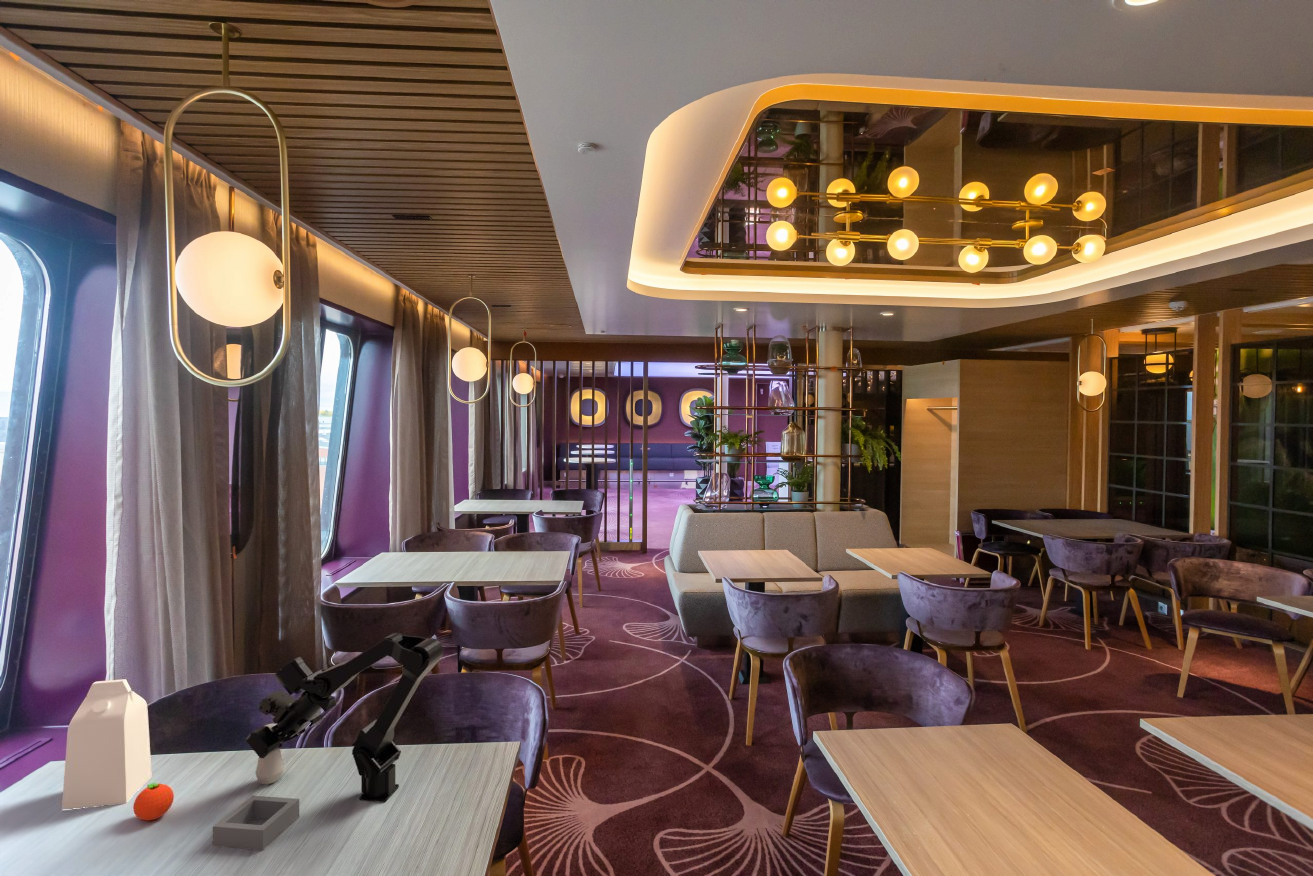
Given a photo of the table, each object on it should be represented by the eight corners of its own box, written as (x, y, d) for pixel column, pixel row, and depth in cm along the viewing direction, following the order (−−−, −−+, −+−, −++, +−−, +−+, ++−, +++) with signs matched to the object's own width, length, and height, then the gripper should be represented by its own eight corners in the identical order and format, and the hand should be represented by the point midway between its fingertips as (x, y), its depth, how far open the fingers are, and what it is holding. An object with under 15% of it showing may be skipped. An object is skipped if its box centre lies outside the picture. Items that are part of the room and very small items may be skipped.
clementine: (127, 817, 137) (127, 785, 137) (166, 802, 143) (166, 771, 143) (138, 832, 133) (138, 798, 133) (178, 816, 138) (178, 783, 138)
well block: (299, 817, 138) (299, 799, 138) (263, 850, 127) (263, 830, 127) (252, 813, 139) (252, 795, 139) (212, 846, 128) (212, 826, 128)
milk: (151, 776, 154) (152, 670, 154) (126, 803, 143) (126, 688, 142) (92, 783, 150) (92, 674, 150) (61, 811, 139) (61, 694, 139)
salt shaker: (289, 774, 155) (289, 721, 155) (272, 787, 149) (272, 732, 149) (267, 772, 155) (266, 720, 155) (249, 785, 150) (249, 731, 150)
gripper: (311, 668, 161) (273, 708, 163) (253, 698, 142) (210, 743, 144) (339, 701, 159) (300, 741, 161) (284, 736, 141) (241, 780, 143)
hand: (264, 750), depth 152 cm, fingers closed on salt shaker, 3 cm apart
